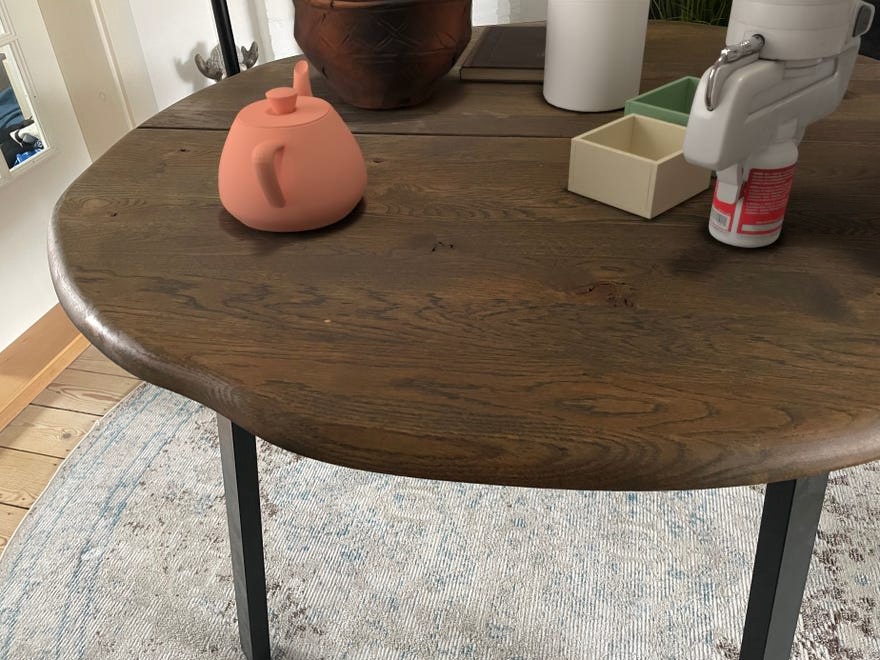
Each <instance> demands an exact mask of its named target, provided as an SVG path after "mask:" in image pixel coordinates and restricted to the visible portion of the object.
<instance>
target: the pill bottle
mask: <svg viewBox="0 0 880 660" xmlns="http://www.w3.org/2000/svg"><path fill="white" fill-rule="evenodd" d="M796 123H797V117H795V118H793V119H792V120H790V121H788V122H786V123H784V124H782V125H780V126H779V128H778V133H777V137H776V139H775V143H774V144H772V145H770V146H768V147H767V148H765V149H763V150H761V151H759V152H757V153H755V154H753V155H751V156H750V157H748V158H747V163H746V166H745V167H743V168H742V180H745V181H747V185H746V189H745V191H744V192H745V194H744V197H743V198H742V199H740V200H738V201H737V202H735V203H733V204H728V203H725V202H722V201H719V200H718V199H717V190H718V185H719V180H718V177H717V176H716V182H715V188H714V194H713V198H712V204H711V210H710V216H709V221H708V231H709V233H710V235H711V236H712V237H713V238H715V239H716V240H717V241H719V242H722V243H723V244H727V245H731V246H734V247H738V248H739V247H740V248H748V249H749V248H753V249H754V248H760V247H765V246H768V245H771V244H773V243H775V241H776V240H778V238H779V237H780V234H781V231H782V226H783V222H784V217H785V213H786V209H787V205H788V201H789V197H790V192H791V189H792V183H793V179H794V175H795V173H796V172H795V171H796V167H797V164H798V158H799V149H798V147H796V145H795V144H794V143H793V142H792V141H791V140H789V139H790V138H792V137H793V134H794V133H795V129H796Z"/></svg>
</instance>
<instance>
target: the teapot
mask: <svg viewBox="0 0 880 660" xmlns="http://www.w3.org/2000/svg"><path fill="white" fill-rule="evenodd" d="M265 97H266V98H265V99H261V100H258V101H254V102H252V103H250V104H248V105H246V106H244V107H243V108H242V109H241V110H240V111H239V112H238V113H237V115H236V117H235V118H234V121H233V122H232V124H231V126H230V129H229V131H228V134H227V137H226V139H225V142H224V144H223V148H222V151H221V155H220V160H219V164H218V176H217V177H218V179H217V180H218V181H217V182H218V192H219V200H220V202H221V203H222V206H223V207H224V209H226V211H227V212H228V213H229V214H230V215H232V216H233V217H234V218H235V219H237V220H238V221H239V222H241V223H242V224H244V225H245V226H247V227H249V228H252V229H255V230H259V231H260V230H261V231H265V232H275V233H276V232H277V233H278V232H279V233H289V232H291V233H292V232H293V233H294V232H302V231H303V232H304V231H311V230H315V229H320V228H323V227H327V226H330V225H333V224H335V223H337V222H339V221H340V220H343V219H344V218H345V217H347V216H348V215H349V214H351V212H352V211H353V210H354V208H355V207H357V205H358V204H359V202H360V201H361V199H362V198H363V196H364V194H365V193H366V190H367V186H368V182H369V181H368V173H367V167H366V163H365V160H364V157H363V153H362V150H361V148H360V146H359V143H358V141H357V140H356V138H355V136H354V135H353V132H352V131H351V130H350V128H349V127H348V125H347V124H346V123H345V121H344V120H343V119H342V117H341V116H340V114H339V113H338V112H337V111H336V110H335V108H334V107H333V106H332V105H331V104H330V103H329V102H328V101H326V100H324V99H322V98H320V97H315V96H314V95H313V91H312V87H311V81H310V67H309V64H308V62H307V60H303V59H302V60H299V61H298V62H296V64H295V66H294V69H293V86H292V87H290V86H289V87H287V86H282V87H275V88H272V89H270V90H268V91H266V92H265Z"/></svg>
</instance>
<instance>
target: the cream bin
mask: <svg viewBox="0 0 880 660" xmlns="http://www.w3.org/2000/svg"><path fill="white" fill-rule="evenodd" d="M686 129H687V127H684V126H680V125H677V124H673V123H669V122H665V121H661V120H657V119H653V118H650V117H646V116H642V115H638V114H634V113H632V114H629V115H627V116H625V117H624V116H623V117H620V118H617V119H614V120H612V121H610V122H608V123H606V124H603V125H601V126H599V127H596V128H593V129H591V130H589V131H587V132H584V133H582V134H580V135H576V136H574V137H572V138H571V142H570V143H571V144H570V154H569V155H570V157H569V169H568V181H567V183H568V184H567V191H569V192H572V193H575V194H578V195H580V196H584V197H586V198H589V199H592V200H595V201H597V202H599V203H603V204H606V205H609V206H612V207H615V208H618V209H620V210H623V211H625V212H628V213H631V214H634V215H637V216H640V217H642V218H646V219H648V220H651V219H653V218H655V217H657V216H659V215H661V214H663V213H664V212H666V211H668V210H670V209H672V208H673V207H675V206H678V205H679V204H681V203H683V202H685V201H687V200H689V199H690V198H692V197H694V196H697V195H698V194H700V193H701V192H704V191H705V190H707V189H709V187H710V182H711V177H712V176H711V172H712V170H710V169H706V168H703V167H700V166H696V165H693V164H691V163H688V162H687V161H686V159H685V157H684V154H683V143H684V138H685V133H686Z"/></svg>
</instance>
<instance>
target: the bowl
mask: <svg viewBox="0 0 880 660" xmlns="http://www.w3.org/2000/svg"><path fill="white" fill-rule="evenodd" d="M291 1H292V5H293V8H294V16H293V20H294V21H293V38H294V40H295V42H296V44H297V46H298V47H299V49H300V50H301V52H302V54H303V55H304V56H305V57H306V59H307V60H308V61H309V63H310V64H311V65H312V66H313V67H314V68H315V70H316V71H318V73H319V74H320V75H321V76H322V77H323V78H324V79H325V80H326V81H327V82H328V83H329V84H330V85H331V87H333V89H334V90H335V91H336V93H338V95H339V96H340V98H341V99H342V100H343V102H345V103H347V104H348V105H353V106H354V107H359V108H364V109H383V110H388V109H395V108H400V107H402V106H405V107H411V106H412V107H413V106H416V105H418V104H420V103H422V102H424V101H426V100H427V99H428V98H429V97H430V96H431V94H432V93H433V92H434V91H435V89H436V88H437V87H438V85H440V83H441V82H442V81H443V79H445V77H446V76H447V75H448V74H449V73H450V72H451V71H452V69H453V68H454V67H455V66H456V64H457V62H458V61H459V60H460V58H461V57H462V55H463V53H465V50H466V49H467V48H468V46H469V44H470V42H471V41H472V35H473V29H472V28H473V27H472V26H473V25H472V18H471V17H472V5H473V0H291Z"/></svg>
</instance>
